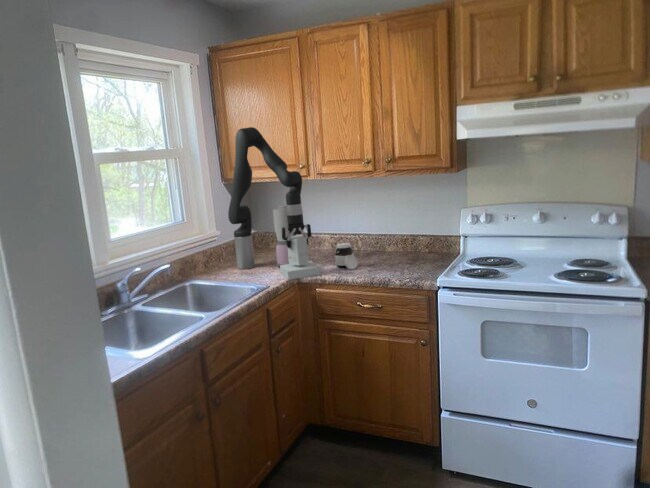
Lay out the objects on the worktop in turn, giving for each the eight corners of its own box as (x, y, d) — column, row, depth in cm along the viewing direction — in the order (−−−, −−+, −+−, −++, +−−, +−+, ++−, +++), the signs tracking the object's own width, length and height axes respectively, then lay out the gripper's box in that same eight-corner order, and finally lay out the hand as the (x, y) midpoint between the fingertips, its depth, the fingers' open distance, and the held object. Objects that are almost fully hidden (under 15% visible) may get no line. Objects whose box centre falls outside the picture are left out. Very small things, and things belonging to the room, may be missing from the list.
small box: (309, 263, 237) (306, 236, 235) (298, 266, 233) (296, 239, 230) (298, 261, 243) (296, 235, 241) (288, 263, 239) (286, 237, 236)
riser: (280, 273, 244) (279, 265, 243) (311, 268, 248) (310, 260, 248) (288, 280, 229) (287, 271, 228) (321, 274, 233) (320, 266, 233)
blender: (274, 269, 254) (267, 207, 248) (281, 263, 265) (275, 204, 259) (303, 268, 250) (297, 206, 244) (309, 262, 261) (304, 203, 256)
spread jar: (342, 264, 252) (341, 242, 250) (362, 265, 246) (361, 242, 244) (332, 270, 241) (330, 246, 239) (352, 270, 236) (351, 247, 234)
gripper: (306, 211, 239) (309, 243, 242) (278, 214, 235) (281, 247, 238) (311, 212, 232) (314, 246, 235) (282, 216, 227) (285, 250, 230)
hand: (297, 247), depth 236 cm, fingers closed on small box, 8 cm apart
